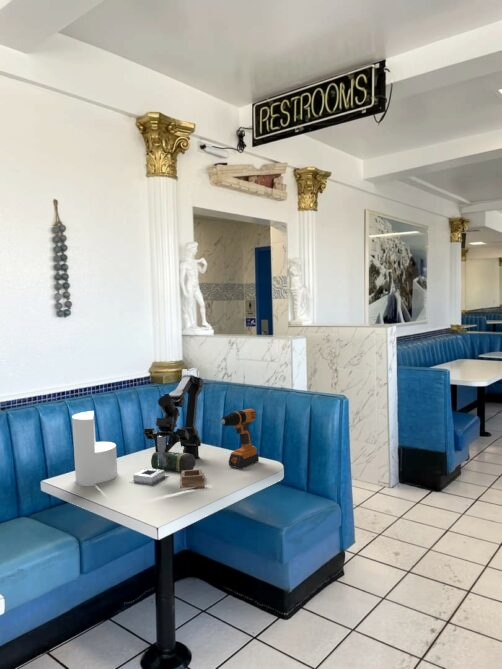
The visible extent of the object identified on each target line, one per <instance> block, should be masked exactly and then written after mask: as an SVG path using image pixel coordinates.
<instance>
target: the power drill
mask: <svg viewBox="0 0 502 669" xmlns="http://www.w3.org/2000/svg"><path fill="white" fill-rule="evenodd" d="M256 418H257V412H256V410H255V409H253V408H246V409H241V410H237V411H232V412H230V413H228V414H227V415H223V416H222V417H221V419H220V423H221V424H222V425H223V426H224V427H231V426H232V427H233V428H234V429H235V430H236V434H237V435H239V439H240V444H241V447H240V448H238V449H237V448H236V449H235V450H234V451H231V453H230V455H229V459H228V465H229V467H233V468H238V469H245V468H247V467H250V466H251V465H253V464H256V463H258V462H259V461H260V457H259V454H258V453H257V449H258V448H257V447H256V446H254V445H252V435H251V432H250V424H252V423H253V422H254V420H255V419H256Z"/></svg>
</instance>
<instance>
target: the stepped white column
mask: <svg viewBox="0 0 502 669" xmlns="http://www.w3.org/2000/svg"><path fill="white" fill-rule="evenodd" d="M71 421H72V422H71V423H72V437H73V438H72V439H73V440H72V441H73V454H74V456H73V457H74V469H75V470H74V471H75V472H74V473H75V474H74V475H75V484H77V485H79V486H83V487H85V486H86V487H93V486H94V487H95V486H97V484H99V483H105V482H109V481H111V480H113V479H115V478H116V477H117V476H118V460H117V459H118V458H117V456H118V455H117V444H116V443H115V442H111V441H96V439H97V438H96V427H95V423H96V422H95V411H94V410H89V411H84V412H83V411H82V412H79V413H75V414H73V415H72V416H71Z"/></svg>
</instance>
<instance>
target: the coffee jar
mask: <svg viewBox="0 0 502 669" xmlns="http://www.w3.org/2000/svg"><path fill="white" fill-rule="evenodd" d="M150 465H151V469H159V470H165V471H171V472H178V473H182V471H184V470H194V468H195V467H196V459H195V457H194V455H193V454H189V453H183V452H176V451H175V452H174V451H168V465H166V466H159V465H158V452H157V453H156V451H155V452H154V453H153V454H152V455H151V460H150Z"/></svg>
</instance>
